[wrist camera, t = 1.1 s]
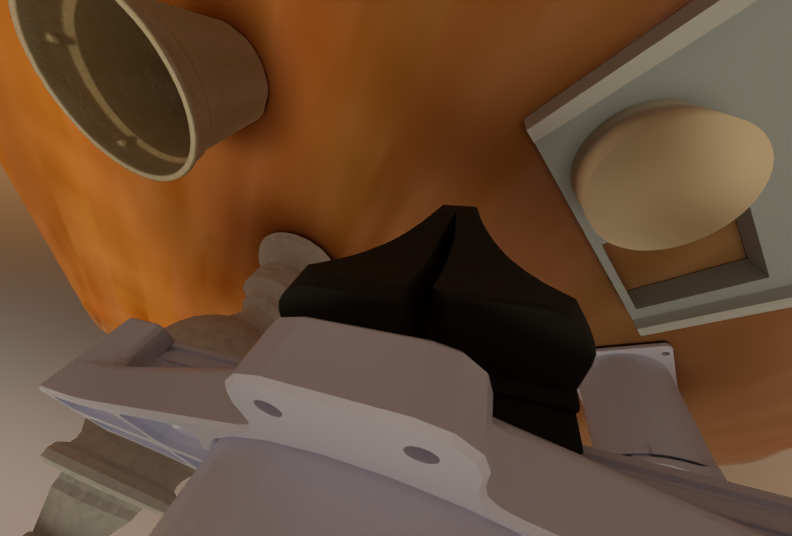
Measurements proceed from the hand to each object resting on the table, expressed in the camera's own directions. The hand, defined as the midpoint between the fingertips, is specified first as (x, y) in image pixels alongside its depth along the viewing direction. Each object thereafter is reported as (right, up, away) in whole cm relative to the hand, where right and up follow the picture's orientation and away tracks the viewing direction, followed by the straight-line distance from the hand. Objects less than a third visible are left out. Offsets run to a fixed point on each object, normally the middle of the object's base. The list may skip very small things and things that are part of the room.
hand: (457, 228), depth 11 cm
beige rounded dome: (+10, +4, +4) cm, 12 cm away
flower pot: (-14, +13, +9) cm, 21 cm away
